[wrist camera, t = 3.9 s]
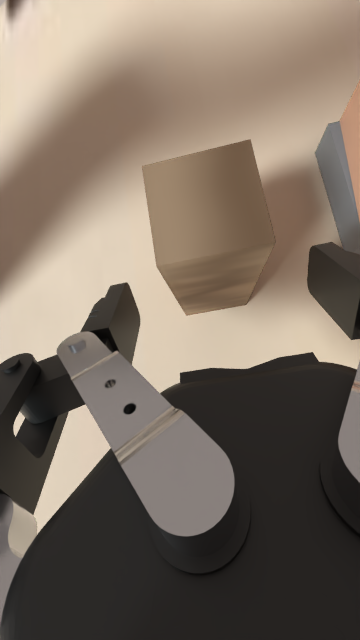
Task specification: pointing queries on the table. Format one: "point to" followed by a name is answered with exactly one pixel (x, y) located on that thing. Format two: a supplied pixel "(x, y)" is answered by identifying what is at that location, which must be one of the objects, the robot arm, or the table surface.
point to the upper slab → (353, 141)
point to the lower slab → (339, 186)
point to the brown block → (209, 226)
